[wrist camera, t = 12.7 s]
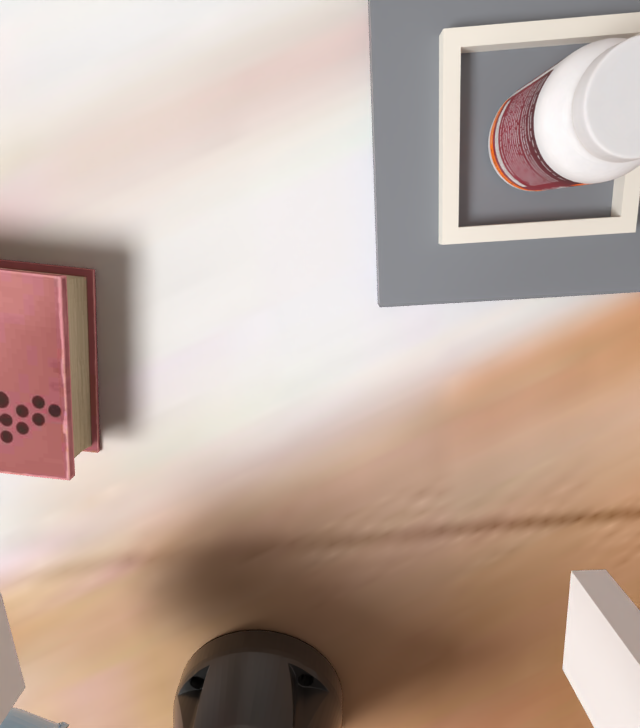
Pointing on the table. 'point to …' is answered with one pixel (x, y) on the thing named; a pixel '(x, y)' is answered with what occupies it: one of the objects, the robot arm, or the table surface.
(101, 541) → the table surface
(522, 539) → the table surface
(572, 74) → the pill bottle
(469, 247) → the locating plate
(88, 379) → the book
